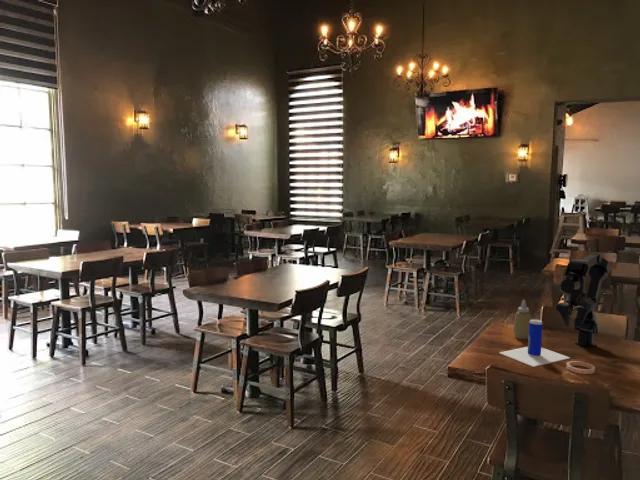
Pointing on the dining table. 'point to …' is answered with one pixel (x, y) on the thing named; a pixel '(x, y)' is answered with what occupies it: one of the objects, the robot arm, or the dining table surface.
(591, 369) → the terracotta ring
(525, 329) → the squeeze bottle
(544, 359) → the grey mat
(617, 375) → the dining table surface
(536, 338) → the beverage can
